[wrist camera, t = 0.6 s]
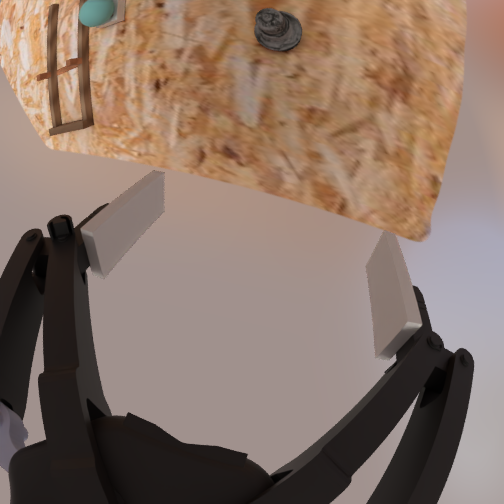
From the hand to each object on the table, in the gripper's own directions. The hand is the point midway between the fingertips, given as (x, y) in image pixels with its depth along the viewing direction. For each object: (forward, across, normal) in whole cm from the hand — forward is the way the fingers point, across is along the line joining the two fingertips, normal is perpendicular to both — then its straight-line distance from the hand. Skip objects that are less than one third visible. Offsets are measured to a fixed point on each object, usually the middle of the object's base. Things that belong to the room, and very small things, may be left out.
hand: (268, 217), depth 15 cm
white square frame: (+26, -34, +18) cm, 47 cm away
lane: (+26, -45, +10) cm, 53 cm away
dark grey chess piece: (+26, -5, +14) cm, 30 cm away
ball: (+22, -34, +18) cm, 44 cm away
